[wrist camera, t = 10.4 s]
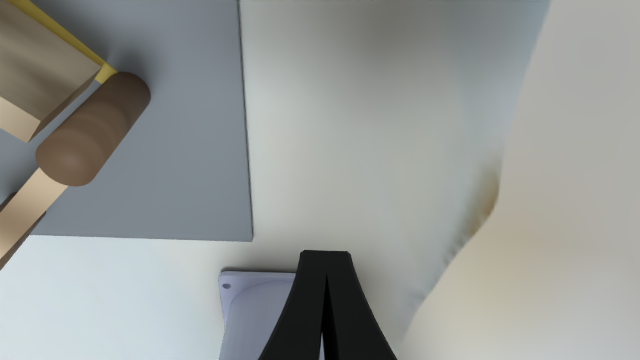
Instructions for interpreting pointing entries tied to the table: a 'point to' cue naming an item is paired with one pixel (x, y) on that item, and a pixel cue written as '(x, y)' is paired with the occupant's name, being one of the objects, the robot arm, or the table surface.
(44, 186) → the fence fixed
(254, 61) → the table surface
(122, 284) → the table surface
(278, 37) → the table surface
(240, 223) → the board
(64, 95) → the wooden plank
